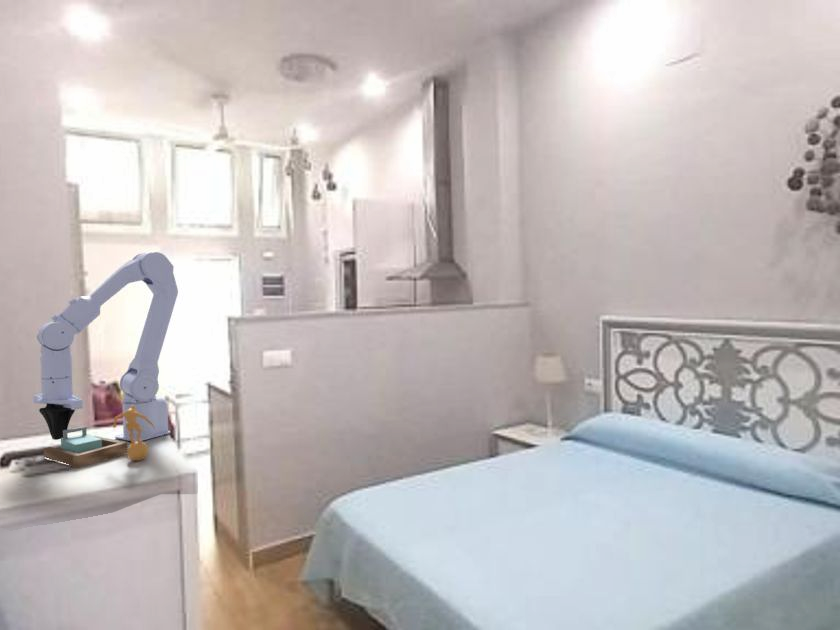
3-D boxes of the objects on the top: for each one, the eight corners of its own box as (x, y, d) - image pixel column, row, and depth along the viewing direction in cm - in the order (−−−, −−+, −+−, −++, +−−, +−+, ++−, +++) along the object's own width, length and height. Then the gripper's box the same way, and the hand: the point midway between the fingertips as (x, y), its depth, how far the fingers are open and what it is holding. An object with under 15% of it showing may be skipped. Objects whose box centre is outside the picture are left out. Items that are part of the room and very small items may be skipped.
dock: (95, 446, 130) (94, 435, 130) (127, 453, 124) (127, 442, 124) (44, 459, 120) (43, 448, 120) (77, 467, 115) (76, 456, 115)
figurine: (162, 457, 122) (160, 401, 121) (149, 466, 116) (147, 407, 115) (122, 457, 122) (121, 401, 121) (107, 466, 116) (105, 407, 115)
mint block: (87, 450, 126) (86, 425, 126) (102, 455, 122) (101, 430, 122) (61, 455, 122) (60, 430, 122) (75, 462, 118) (75, 436, 118)
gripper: (17, 377, 125) (20, 438, 126) (58, 382, 119) (60, 447, 120) (51, 372, 132) (53, 431, 132) (91, 377, 125) (93, 439, 126)
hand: (58, 438), depth 126 cm, fingers closed
